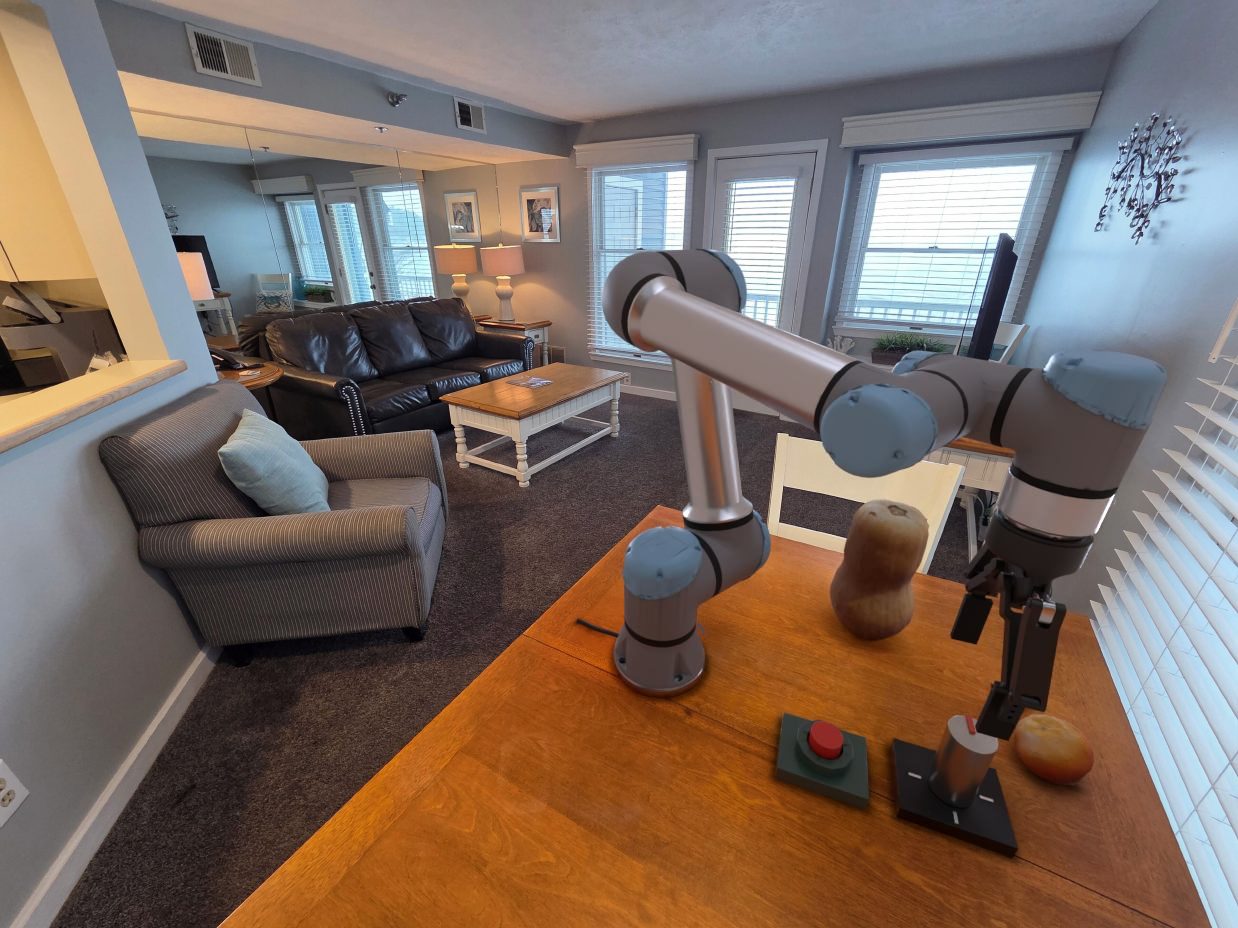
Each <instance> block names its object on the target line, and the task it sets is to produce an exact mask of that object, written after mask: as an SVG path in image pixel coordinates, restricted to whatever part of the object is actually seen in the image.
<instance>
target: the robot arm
mask: <svg viewBox="0 0 1238 928" xmlns="http://www.w3.org/2000/svg"><path fill="white" fill-rule="evenodd" d="M747 297H748V288H747V282H746V278H745V276H744V273H743V271H742V269H741V267H740V265H739V264H738V263H737V262H736V260H734V258H732V257H731V256H730V255H729V254H727V253H726V252H723V251H721V250H717V249H707V248H702V247H697V248H689V249H675V250H673V249H671V250H658V251H657V250H656V251H653V250H649V251H648V250H647V251H640V252H636V253H632V254H630V255H628V256H626V257H624V258H623V259H622V260H620V261H619V262H617V264H615V265H614V266H613V268H612V269H611V270H610V272H609V273H608V275H607V276H606V279H605V281H604V284H603V286H602V292H601V308H602V313H603V315H604V318H605V321H606V323H607V324H608V327H610V330H612V332H613V333H614V334H615V335H616V336H618V337H619V338H620V339H621V340H622V341H624V342H626V343H627V344H629V345H630V346H633V347H634V348H636V349H638V350H640V351H643V352H645V353H656V352H658V351H659V352H661V353H664V354H665V355H667V357H669V359H670V362H671V369H672V377H673V384H674V385H673V386H674V392H675V393H674V394H675V399H676V406H677V414H678V422H679V430H680V435H681V436H680V437H681V445H682V451H683V459H684V468H685V473H686V475H685V476H686V480H687V482H686V483H687V488H688V496H689V502H688V503H687V504H686V506H685V507H684V508H683V510H682V520H683V521H682V522H683V527H684V528H682V527H678V526H672V525H668V526H666V527H665V528H663V526H655V527H652V528H648V529H646V530H644V531H642V532H641V533H639V534H638V535H636V536H635V537H634V538H633V539H632V540H631V541H630V542H629V544H628V545H627V547H626V550H625V553H624V563H623V566H622V580H623V615H624V617H623V620H624V621H623V623H622V626H621V628H620V631H619V632H616V631H612V630H610V629H607V628H602V627H600V626H596V625H595V624H592V623H590V622H587V621H585V620H583V619H581V618H577V619H576V621H575V622H576V623H577V624H579V625H581V626H583V627H585V628H588V629H590V630H592V631H594V632H597V633H601V634H604V635H607V636H611V637H613V638H616V641H615V643H614V646H613V666H614V669H615V672H616V673H617V676H618V677H619V678H620V680H621V681H622V682H623V683H624V685H626V686H627V687H629V688H630V689H631V690H633V691H634V692H637V693H639V694H641V695H645V696H649V697H653V698H670V697H676V696H679V695H681V694H684V693H686V692H688V691H689V690H691V689H693V688H694V687H695V686H696V685H697V684H698V683H699V682H700V680H701V678H702V676H703V674H704V671H705V663H706V652H705V647H704V646H703V645H704V644H703V642H702V639H701V636H700V634H699V631H698V628H699V630H700V631H701V633H702V635H703V636H704V637H706V629H705V628H704V627H703V625H702V623H701V622H700V620H699V619H698V618H697V617H698V610H699V609H698V608H700V606H701V605H703V604H704V603H706V602H708V601H709V600H711V599H713V598H715V597H716V596H718V595H720V594H722V593H723V592H725V591H727V590H728V589H730V588H731V587H734V586H735V585H737V584H738V583H740V582H743V581H745V580H748V579H750V578H751V577H752V576H754V575H755V574H756V572H758V571H759V570H761V569H762V568H763V567H764V566H765V564H766V563H767V561H768V560H769V557H770V554H771V550H772V549H771V548H772V538H771V534H770V531H769V528H768V526H767V525H768V524H766V523H764V522H763V521H762V520H763V517H762V516H761V514H760V513H758V512H757V511H756V510H754V505H753V503H752V502H751V501H750V500H748V499H747V498H745V497H744V496H743V490H742V482H741V473H740V465H739V454H738V446H737V445H738V444H737V436H736V427H735V426H736V425H735V417H734V409H733V399H732V389H733V390H735V391H737V392H738V393H740V394H742V395H744V396H746V397H748V398H750V399H752V400H753V401H756V402H757V403H759V404H762V405H764V407H765V406H766V407H767V408H769V409H771V410H773V411H775V412H777V413H778V414H780V415H782V416H784V417H787V418H788V419H791V420H792V421H794V422H796V423H798V424H800V425H802V426H804V427H806V428H808V429H809V430H811V431H814V432H815V433H817V434H818V435H820V439H821V443H822V448H823V449H824V451H825V453H826V454H828V456H829V457H830V459H831V460H832V461H833V462H834V465H836V467H838V468H839V469H840V470H842V471H844V472H845V473H847V474H850V475H852V476H855V477H858V478H859V477H860V478H866V479H875V478H881V477H886V476H888V475H891V474H894V473H897V472H899V471H902V470H906V469H909V468H911V467H914V466H916V465H917V464H918V463H921V462H922V461H923V460H924V459H925V458H926V457H927V456H928V455H930V454H932V453H934V452H935V451H937V450H939V449H941V448H943V447H945V446H948V445H950V444H951V443H953V442H955V441H957V440H959V439H960V438H964V439H969V440H972V441H976V442H980V443H983V444H987V445H991V446H994V447H999V448H1005V449H1009V450H1012V451H1014V454H1013V460H1012V462H1011V464H1010V466H1009V467H1008V469H1007V472H1006V475H1005V477H1004V480H1003V483H1002V484H1001V485H1002V486H1001V488H1000V491H999V494H998V497H997V499H996V507H997V508H995V510H994V511H993V513H992V516H991V518H990V521H989V523H988V526H987V529H986V531H985V533H984V543H983V544H982V546H981V547H980V548H979V549H978V551H977V552H976V554H975V555H974V556H973V558H972V559H971V561H970V562H969V563H968V565H967V566H966V567H965V568H964V570H963V572H962V574H963V578H964V579H967V580H968V581H966V582H965V585H964V590H965V591H966V593H964V596H963V597H962V601H961V603H960V607H959V609H958V612H957V614H956V618H955V620H954V623H953V626H952V627H951V631H950V634H949V637H950V639H951V640H954V641H959V642H963V643H968V644H972V645H975V646H977V645H978V643H979V641H980V637H981V635H982V633H983V631H984V628H985V625H986V622H987V620H988V618H989V615H990V613H991V610H992V608H993V605H994V601H993V598H996V599H999V605H998V615H999V617H1000V618H1002V619H1003V621H1004V622H1003V623H1004V624H1003V638H1002V639H1003V640H1002V641H1003V642H1002V653H1001V669H1000V681H999V680H994V682H993V683H990V688H991V689H990V690H989V693H988V696H987V698H986V700H985V702H984V704H983V706H982V709H981V712H980V714H979V716H978V718H977V719H976V720H977V723H976V725H975V728H976V732H977V733H981V734H984V735H988V736H991V737H995V738H997V740H998V739H999V740H1002V741H1006V742H1009V741H1010V740H1011V738H1012V736H1013V734H1014V731H1015V727H1016V725H1017V723H1018V722H1019V721H1020V720H1021V717H1022V715H1023V713H1024V711H1025V709H1030V710H1032V711H1038V712H1041V713H1045V712H1046V711H1047V707H1048V701H1049V696H1050V689H1051V684H1052V679H1053V672H1054V665H1055V660H1056V654H1057V649H1058V643H1059V636H1060V632H1061V628H1062V626H1063V623H1064V621H1065V618H1066V615H1067V612H1068V611H1067V609H1068V608H1067V605H1066V604H1065V603H1062V602H1056V601H1052V600H1051V598H1052V595H1053V583H1054V580H1057V579H1059V578H1061V577H1065V576H1070V575H1073V574H1075V573H1077V572H1078V571H1079V570H1081V568H1082V567H1083V564H1084V562H1085V560H1086V558H1087V556H1088V554H1089V552H1090V550H1091V547H1092V545H1093V543H1094V541H1095V540H1094V535H1095V534H1097V532H1098V531H1099V529H1100V527H1101V525H1102V523H1103V521H1104V519H1105V517H1106V514H1107V512H1108V510H1109V508H1110V507H1113V506H1115V505H1116V502H1117V499H1116V497H1115V496H1116V494H1117V492H1118V490H1119V488H1120V486H1121V484H1122V482H1123V480H1124V478H1125V476H1126V474H1127V472H1128V470H1129V468H1130V466H1131V465H1132V462H1133V460H1134V458H1135V456H1136V455H1137V452H1138V450H1139V448H1140V446H1141V444H1142V442H1143V440H1144V438H1145V436H1146V434H1147V432H1148V430H1149V429H1150V426H1151V425H1152V423H1153V421H1154V414H1155V412H1156V410H1157V407H1158V405H1159V402H1160V400H1161V398H1162V395H1163V393H1164V390H1165V388H1166V385H1167V382H1168V373H1167V371H1166V369H1165V367H1163V365H1161V364H1160V363H1158V362H1157V361H1155V360H1152V359H1150V358H1146V357H1143V356H1139V355H1135V354H1130V353H1123V352H1118V351H1109V350H1093V349H1085V348H1084V349H1083V348H1072V349H1064V350H1060V351H1057V352H1055V353H1054V354H1052V355H1051V357H1050V358H1049V360H1048V361H1047V364H1045V365H1044V366H1043V367H1042V368H1040V367H1035V368H1032V367H1026V366H1025V367H1024V366H1019V365H1014V364H1013V365H1012V364H1008V363H1003V362H997V361H991V360H986V359H979V358H973V357H967V356H962V355H957V354H954V353H952V352H949V351H941V352H935V351H926V350H913V351H911V352H908V353H907V354H905V355H904V356H902V358H901V360H900V361H899V362H897V363H896V364H895V365H894V366H893V368H892V370H891V371H888V370H885V369H883V368H880V367H877V366H875V365H873V364H870V363H866V362H864V361H861V360H860V359H858V358H856V357H853V356H850V355H848V354H845V353H842V352H839V351H838V350H835V349H832V348H830V347H827V346H825V345H822V344H820V343H817V342H814V341H812V340H809V339H807V338H804V337H801V336H800V335H796V334H794V333H791V332H788V331H786V330H784V329H781V328H778V327H776V326H774V325H771V324H769V323H766V322H763V321H761V320H758V319H755V318H753V317H750V316H748V315H746V314H744V313H743V310H744V309H745V308H746V304H747ZM989 597H991V598H989ZM1013 609H1016V610H1020V611H1022V612H1017V611H1015V610H1013Z"/></svg>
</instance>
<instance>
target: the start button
mask: <svg viewBox="0 0 1238 928" xmlns="http://www.w3.org/2000/svg"><path fill="white" fill-rule="evenodd" d="M824 721H825V720H822V721H819V722H816V723H814V724H813V725H812V727H811V731H810V735H809V745H810V747H811V749H812V750H813V751H814V752H815V753H816V754H817V755H818V756H820V757H822V758H825V759H834V758H836V757H838V756H839V754H840V752H841V748H842V744H843V736H842V734H841V732H840V731H839V729H840V728H839V727H837V726H836V725H835V724H833V723H832V722H828V721H825V722H824ZM832 724H833V725H832ZM834 725H835V726H836V727H835V726H834ZM838 728H839V729H838Z"/></svg>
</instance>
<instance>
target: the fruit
mask: <svg viewBox="0 0 1238 928" xmlns="http://www.w3.org/2000/svg"><path fill="white" fill-rule="evenodd" d="M1013 738H1014V742H1015V746H1016V751H1017V755H1018V757H1019V758H1020V760H1021V761H1022V763H1023V764H1024V765H1025V766H1026V767H1027V768H1028V769H1029V770H1030V771H1031V772H1032V773H1033V774H1035V775H1036V776H1037V777H1039V778H1041V779H1042V780H1046V781H1048V782H1050V783H1053V784H1055V785H1062V786H1067V785H1068V786H1072V787H1075V785H1076V784H1078V783H1079V781H1081V780H1082V779H1084V777H1086V775H1088V773H1090V772H1091V771H1092V769H1093V767H1094V762H1095V761H1094V760H1095V759H1094V757H1095V756H1094V755H1095V753H1094V751H1093V750H1094V749H1093V748H1092V745H1091V743H1090V742H1089V739H1088V738H1087V736H1085V734H1083V733H1082V732H1081V730H1080V729H1079V728H1077V727H1076V726H1075V725H1073V724H1072V723H1071V722H1069V721H1067V720H1065V719H1062V718H1060V717H1058V716H1055V715H1049V714H1043V713H1038V714H1035V713H1031V714H1029V715H1028V716H1026V717H1024V718H1022V719H1019V721H1018V723H1017V725H1016V727H1015V729H1014V731H1013Z"/></svg>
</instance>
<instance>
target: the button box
mask: <svg viewBox="0 0 1238 928" xmlns="http://www.w3.org/2000/svg"><path fill="white" fill-rule="evenodd" d="M819 721H824V722H826V720H821V719H812V720H811V719H807V718H805V717H802V716H797V715H796V714H795V715H794V714H791V713H788V712H784V711H783V713H782V718H781V725H780V733H779V740H778V748H777V756H776V764H775V771H774V774H775V775H774V779H776V780H779V781H782V782H784V783H788V784H790V785H793V786H795V787H796V786H797V787H799V788H802V789H805V790H808V791H809V792H810V791H811V792H813V793H816V794H818V795H821V796H824V797H827V798H830V799H833V800H836V801H838V802H841V803H844V804H847V805H850V806H851V807H852V806H853V807H856V808H857V809H858V808H859V809H861V810H864V811H866V809H867V807H868V803H869V800H870V795H869V794H870V793H869V772H868V770H869V769H868V749H867V737H865V736H863V735H859V734H856V733H853V732H849V731H846V730H843V729H840V728H839V727H837V725H835V724H833V723H831V724H832V725H834V726H835V727H837V728H838V729H839V731H840V732H841V734H842V736H843V744H842V748H841V752H840V754H839V756H838V757H836V758H834V759H825V758H822V757H820V756H818V755H817V754H816V753H815V752H814V751H813V750H812V749H811V747H810V745H809V735H810V731H811V727H812V725H813V724H814V723H816V722H819Z"/></svg>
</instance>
